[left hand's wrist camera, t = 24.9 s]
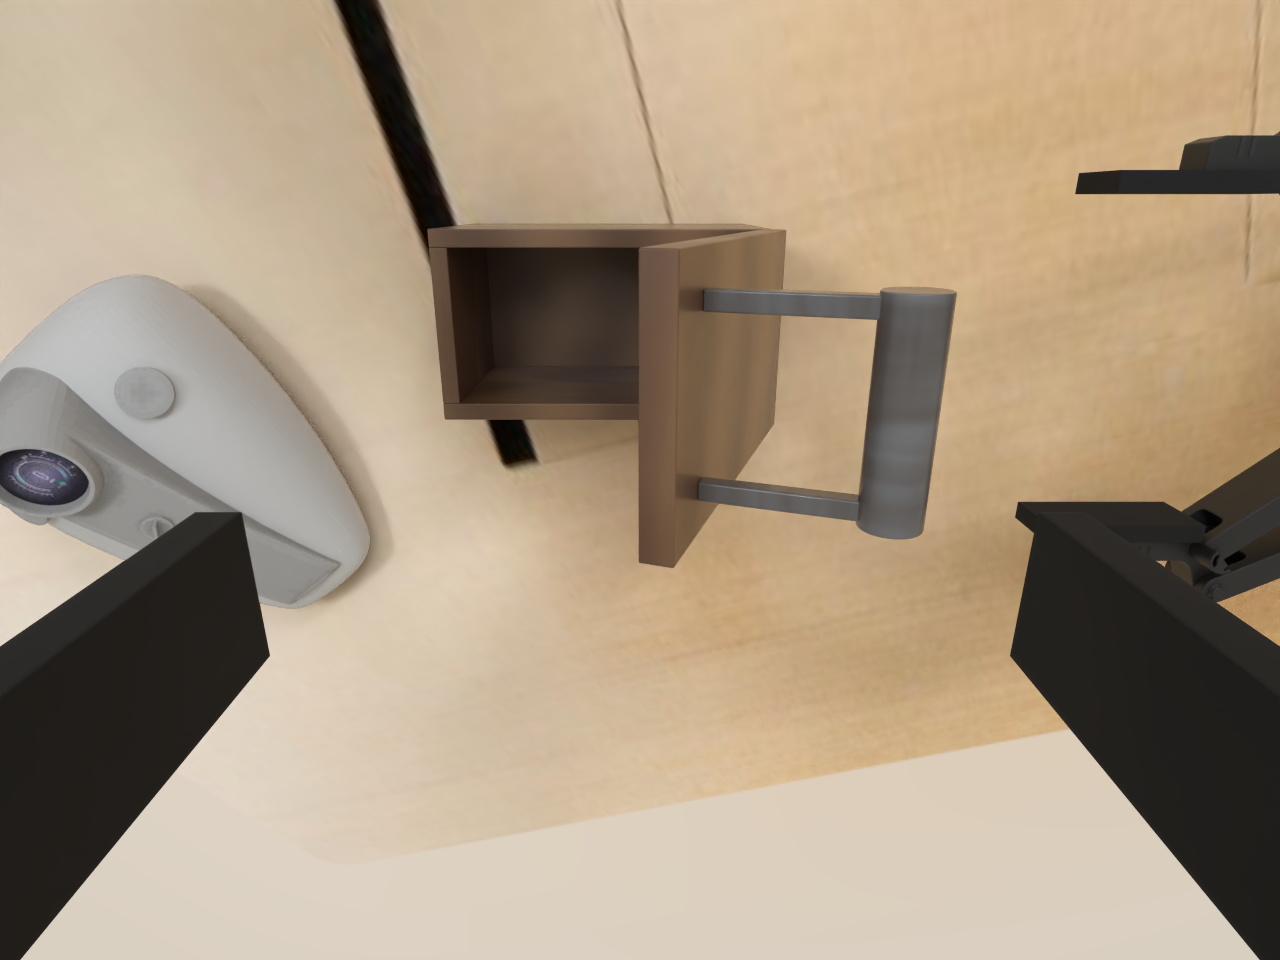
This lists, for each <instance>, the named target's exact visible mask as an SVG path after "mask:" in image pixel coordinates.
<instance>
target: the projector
mask: <svg viewBox="0 0 1280 960" xmlns="http://www.w3.org/2000/svg"><path fill="white" fill-rule="evenodd" d="M0 504H2V505H3V506H5V507H7V508H9V509H10V510H11V511H12V512H14V513H15V514H16V515H17V516H19V517H20V518H22V519H24V520H26V521H28V522H30V523H32V524H36V525H44V524H46V523H48V524H50V525H51V526H53V527H55V528H57V529H58V530H60V531H62V532H64V533H66V534H68V535H70V536H72V537H74V538H76V539H78V540H80V541H82V542H84V543H87V544H89V545H91V546H93V547H95V548H97V549H100V550H102V551H104V552H107V553H109V554H111V555H114V556H116V557H119V558H121V559H124V560H126V559H128V558H129V557H131V556H132V555H134V554H135V553H137V552H138V551H139V550H141V549H142V548H144V547H145V546H147V545H148V544H150V543H151V542H153V541H154V540H155V539H157V538H158V537H160V536H161V535H163V534H164V533H166V532H167V531H168V530H170V529H171V528H173V527H174V526H176V525H177V524H179V523H180V522H181V521H183V520H184V519H186V518H187V517H189V516H190V515H192V514H193V513H195V512H242V516H243V521H244V526H245V531H246V536H247V542H248V547H249V552H250V557H251V562H252V567H253V572H254V577H255V582H256V587H257V592H258V598H259V603H261V604H266V605H270V606H275V607H280V608H288V609H296V608H301V607H304V606H307V605H310V604H312V603H314V602H316V601H317V600H319V599H321V598H322V597H324V596H325V595H327V594H328V593H330V592H331V591H332V590H334V589H335V588H336V587H338V586H339V585H340V584H341V583H343V582H344V581H345V580H346V579H347V578H349V577H350V576H351V575H352V574H353V573H354V572H355V571H356V570H357V569H358V568H359V567H360V565H361V564H362V563H363V561H364V560H365V558H366V556H367V553H368V550H369V546H370V534H369V530H368V527H367V524H366V522H365V519H364V517H363V514H362V512H361V510H360V508H359V506H358V504H357V502H356V500H355V498H354V495H353V494H352V492H351V490H350V488H349V486H348V484H347V483H346V481H345V479H344V477H343V475H342V474H341V472H340V470H339V469H338V467H337V465H336V464H335V462H334V460H333V459H332V457H331V455H330V454H329V452H328V450H327V449H326V447H325V446H324V444H323V443H322V441H321V440H320V438H319V437H318V435H317V434H316V432H315V431H314V430H313V428H312V427H311V425H310V424H309V422H308V421H307V420H306V418H305V417H304V416H303V414H302V413H301V412H300V410H299V409H298V408H297V406H296V405H295V404H294V402H293V401H292V400H291V399H290V397H289V396H288V395H287V393H286V392H285V391H284V390H283V389H282V387H281V386H280V385H279V384H278V383H277V381H276V380H275V379H274V378H273V377H272V375H271V374H270V373H269V372H268V371H267V370H266V368H265V367H264V366H263V365H262V364H261V363H260V362H259V361H258V359H257V358H256V357H255V356H254V355H253V354H252V353H251V352H250V351H249V349H248V348H247V347H246V346H245V345H244V344H243V343H242V342H241V341H240V340H239V339H238V338H237V337H236V336H235V335H234V334H233V333H232V332H231V331H230V330H229V329H228V328H227V327H226V326H225V325H224V324H223V323H222V322H221V321H220V320H219V319H218V318H217V317H216V316H215V315H214V314H213V313H211V312H210V311H209V310H208V309H207V308H206V307H205V306H203V305H202V304H201V303H200V302H198V301H197V300H196V299H195V298H193V297H192V296H191V295H189V294H188V293H187V292H185V291H183V290H182V289H180V288H179V287H177V286H175V285H173V284H171V283H169V282H167V281H165V280H162V279H159V278H156V277H152V276H147V275H128V276H121V277H117V278H113V279H109V280H106V281H103V282H100V283H98V284H95V285H93V286H91V287H89V288H87V289H85V290H83V291H82V292H80V293H78V294H77V295H75V296H74V297H72V298H71V299H69V300H68V301H67V302H65V303H64V304H63V305H61V306H60V307H59V308H57V309H56V310H55V311H54V312H53V313H51V314H50V315H49V316H48V317H47V318H45V319H44V320H43V321H42V322H41V323H40V324H39V325H38V326H36V327H35V328H34V329H33V330H32V331H31V332H30V333H29V334H28V335H27V336H26V337H25V339H24V340H23V341H22V342H20V343H19V344H18V345H17V346H16V347H15V348H14V349H13V350H12V352H11V353H9V354H8V355H7V357H6V358H5V359H4V360H3V361H2V362H1V364H0Z"/></svg>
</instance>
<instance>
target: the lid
mask: <svg viewBox="0 0 1280 960" xmlns="http://www.w3.org/2000/svg"><path fill="white" fill-rule="evenodd" d="M785 242H786V230H771V229H762V230H755V231H749V232H742V233H735V234H728V235H722V236H715V237H708V238H701V239H695V240H688V241H681V242H674V243H668V244H661V245H654V246H647V247H641V248H639V562H640V563H644V564H650V565H657V566H663V567H669V568H674V567H675V565H676V564H677V562H678V561H679V560H680V558H681V557H682V555H683V554H684V552H685V551H686V549H687V548H688V547H689V545H690V544H691V542H692V541H693V539H694V538H695V537H696V535H697V534H698V532H699V531H700V529H701V528H702V526H703V525H704V524H705V522H706V521H707V519H708V518H709V516H710V515H711V514H712V512H713V511H714V509H715V508H716V506H717V505H718V503H719V504H727V505H734V506H742V507H750V508H758V509H766V510H773V511H781V512H789V513H797V514H804V515H812V516H820V517H828V518H835V519H843V520H851V521H856V525H857V526H858V528H859V529H861V530H862V531H864V532H866V533H868V534H871V535H874V536H877V537H882V538H887V539H910V538H914V537H917V536H919V535H921V534H922V532H923V530H924V523H925V516H926V509H927V502H928V494H929V487H930V480H931V473H932V466H933V459H934V452H935V445H936V438H937V431H938V424H939V417H940V410H941V403H942V395H943V388H944V381H945V374H946V367H947V360H948V353H949V346H950V339H951V332H952V325H953V318H954V311H955V303H956V296H957V292H955V291H953V290H948V289H941V288H928V287H890V288H884V289H881V291H880V293H857V292H829V291H801V290H783V274H784V258H785ZM781 315H784V316H805V317H827V318H848V319H870V320H877V328H876V337H875V346H874V355H873V365H872V374H871V383H870V393H869V402H868V411H867V421H866V430H865V439H864V449H863V458H862V467H861V477H860V486H859V495H854V494H846V493H837V492H829V491H820V490H812V489H803V488H795V487H786V486H778V485H770V484H761V483H753V482H744V481H736V480H735V479H736V478H737V476H738V475H739V473H740V472H741V470H742V469H743V467H744V466H745V465H746V463H747V462H748V460H749V459H750V457H751V456H752V455H753V453H754V452H755V450H756V449H757V447H758V446H759V444H760V443H761V442H762V440H763V439H764V437H765V436H766V434H767V433H768V432H769V430H770V429H771V427H772V426H773V424H774V415H775V400H776V384H777V368H778V352H779V337H780V321H781Z"/></svg>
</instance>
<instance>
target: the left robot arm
mask: <svg viewBox="0 0 1280 960" xmlns="http://www.w3.org/2000/svg"><path fill="white" fill-rule="evenodd" d="M269 656H270V654H269V649H268V643H267V638H266V633H265V628H264V623H263V618H262V613H261V608H260V603H259V598H258V592H257V587H256V582H255V577H254V572H253V567H252V562H251V557H250V552H249V547H248V542H247V536H246V531H245V526H244V521H243V516H242V512H195V513H193V514H192V515H190V516H189V517H187V518H186V519H184V520H183V521H181V522H180V523H179V524H177V525H176V526H174V527H173V528H171V529H170V530H168V531H167V532H166V533H164V534H163V535H161V536H160V537H158V538H157V539H155V540H154V541H153V542H151V543H150V544H148V545H147V546H145V547H144V548H142V549H141V550H139V551H138V552H137V553H135V554H134V555H132V556H131V557H129V558H128V559H126V560H125V561H124V562H122V563H121V564H119V565H118V566H116V567H115V568H113V569H112V570H110V571H109V572H108V573H106V574H105V575H103V576H102V577H100V578H99V579H97V580H96V581H95V582H93V583H92V584H90V585H89V586H87V587H86V588H84V589H83V590H81V591H80V592H79V593H77V594H76V595H74V596H73V597H71V598H70V599H68V600H67V601H66V602H64V603H63V604H61V605H60V606H58V607H57V608H55V609H54V610H52V611H51V612H50V613H48V614H47V615H45V616H44V617H42V618H41V619H39V620H38V621H37V622H35V623H34V624H32V625H31V626H29V627H28V628H26V629H25V630H23V631H22V632H21V633H19V634H18V635H16V636H15V637H13V638H12V639H10V640H9V641H8V642H6V643H5V644H3V645H2V646H0V960H20V959H21V958H22V957H23V956H24V955H25V953H26V952H27V951H28V950H29V948H30V947H31V946H32V945H33V944H34V942H35V941H36V940H37V939H38V938H39V936H40V935H41V934H42V933H43V931H44V930H45V929H46V928H47V927H48V925H49V924H50V923H51V922H52V921H53V919H54V918H55V917H56V916H57V914H58V913H59V912H60V911H61V910H62V908H63V907H64V906H65V905H66V903H67V902H68V901H69V900H70V899H71V897H72V896H73V895H74V894H75V893H76V891H77V890H78V889H79V888H80V886H81V885H82V884H83V883H84V882H85V880H86V879H87V878H88V877H89V875H90V874H91V873H92V872H93V871H94V869H95V868H96V867H97V866H98V865H99V863H100V862H101V861H102V860H103V858H104V857H105V856H106V855H107V854H108V852H109V851H110V850H111V849H112V847H113V846H114V845H115V844H116V843H117V841H118V840H119V839H120V838H121V836H122V835H123V834H124V833H125V832H126V830H127V829H128V828H129V827H130V826H131V824H132V823H133V822H134V821H135V819H136V818H137V817H138V816H139V815H140V813H141V812H142V811H143V810H144V808H145V807H146V806H147V805H148V804H149V802H150V801H151V800H152V799H153V797H154V796H155V795H156V794H157V793H158V791H159V790H160V789H161V788H162V787H163V785H164V784H165V783H166V782H167V781H168V779H169V778H170V777H171V776H172V774H173V773H174V772H175V771H176V770H177V768H178V767H179V766H180V765H181V763H182V762H183V761H184V760H185V759H186V757H187V756H188V755H189V754H190V753H191V751H192V750H193V749H194V748H195V746H196V745H197V744H198V743H199V742H200V740H201V739H202V738H203V737H204V735H205V734H206V733H207V732H208V731H209V729H210V728H211V727H212V726H213V725H214V723H215V722H216V721H217V720H218V718H219V717H220V716H221V715H222V714H223V712H224V711H225V710H226V709H227V707H228V706H229V705H230V704H231V703H232V701H233V700H234V699H235V698H236V697H237V695H238V694H239V693H240V692H241V690H242V689H243V688H244V687H245V686H246V684H247V683H248V682H249V681H250V679H251V678H252V677H253V676H254V675H255V673H256V672H257V671H258V670H259V669H260V667H261V666H262V665H263V664H264V662H265V661H266V660H267V659H268V658H269ZM1010 656H1011V658H1012V659H1013V660H1014V661H1015V662H1016V664H1017V665H1018V666H1019V667H1020V669H1021V670H1022V671H1023V672H1024V673H1025V675H1026V676H1027V677H1028V678H1029V679H1030V681H1031V682H1032V683H1033V684H1034V686H1035V687H1036V688H1037V689H1038V690H1039V692H1040V693H1041V694H1042V695H1043V697H1044V698H1045V699H1046V700H1047V701H1048V703H1049V704H1050V705H1051V706H1052V707H1053V709H1054V710H1055V711H1056V712H1057V714H1058V715H1059V716H1060V717H1061V718H1062V720H1063V721H1064V722H1065V723H1066V725H1067V726H1068V727H1069V728H1070V729H1071V731H1072V732H1073V733H1074V734H1075V735H1076V737H1077V738H1078V739H1079V740H1080V742H1081V743H1082V744H1083V745H1084V746H1085V748H1086V749H1087V750H1088V751H1089V753H1090V754H1091V755H1092V756H1093V757H1094V759H1095V760H1096V761H1097V762H1098V763H1099V765H1100V766H1101V767H1102V768H1103V770H1104V771H1105V772H1106V773H1107V774H1108V776H1109V777H1110V778H1111V779H1112V781H1113V782H1114V783H1115V784H1116V785H1117V787H1118V788H1119V789H1120V790H1121V791H1122V793H1123V794H1124V795H1125V796H1126V798H1127V799H1128V800H1129V801H1130V802H1131V804H1132V805H1133V806H1134V807H1135V809H1136V810H1137V811H1138V812H1139V813H1140V815H1141V816H1142V817H1143V818H1144V819H1145V821H1146V822H1147V823H1148V824H1149V825H1150V827H1151V828H1152V829H1153V830H1154V832H1155V833H1156V834H1157V835H1158V837H1159V838H1160V839H1161V840H1162V841H1163V843H1164V844H1165V845H1166V846H1167V847H1168V849H1169V850H1170V851H1171V852H1172V854H1173V855H1174V856H1175V857H1176V858H1177V860H1178V861H1179V862H1180V863H1181V864H1182V866H1183V867H1184V868H1185V869H1186V871H1187V872H1188V873H1189V874H1190V875H1191V877H1192V878H1193V879H1194V880H1195V882H1196V883H1197V884H1198V885H1199V886H1200V888H1201V889H1202V890H1203V891H1204V893H1205V894H1206V895H1207V896H1208V897H1209V899H1210V900H1211V901H1212V902H1213V903H1214V905H1215V906H1216V907H1217V908H1218V910H1219V911H1220V912H1221V913H1222V914H1223V916H1224V917H1225V918H1226V919H1227V920H1228V922H1229V923H1230V924H1231V925H1232V927H1233V928H1234V929H1235V930H1236V931H1237V933H1238V934H1239V935H1240V936H1241V938H1242V939H1243V940H1244V941H1245V942H1246V944H1247V945H1248V946H1249V947H1250V949H1251V950H1252V951H1253V952H1254V953H1255V955H1256V956H1257V957H1258V958H1259V959H1260V960H1280V646H1278V645H1277V644H1275V643H1274V642H1272V641H1271V640H1270V639H1268V638H1267V637H1265V636H1264V635H1262V634H1261V633H1259V632H1258V631H1257V630H1255V629H1254V628H1252V627H1251V626H1249V625H1248V624H1246V623H1245V622H1243V621H1242V620H1241V619H1239V618H1238V617H1236V616H1235V615H1233V614H1232V613H1230V612H1229V611H1228V610H1226V609H1225V608H1223V607H1222V606H1220V605H1219V604H1217V603H1216V602H1214V601H1213V600H1212V599H1210V598H1209V597H1207V596H1206V595H1204V594H1203V593H1201V592H1200V591H1199V590H1197V589H1196V588H1194V587H1193V586H1191V585H1190V584H1188V583H1187V582H1185V581H1184V580H1183V579H1181V578H1180V577H1178V576H1177V575H1175V574H1174V573H1172V572H1171V571H1170V570H1168V569H1167V568H1165V567H1164V566H1162V565H1161V564H1159V563H1158V562H1156V561H1155V560H1154V559H1152V558H1151V557H1149V556H1148V555H1146V554H1145V553H1143V552H1142V551H1141V550H1139V549H1138V548H1136V547H1135V546H1133V545H1132V544H1130V543H1129V542H1127V541H1126V540H1125V539H1123V538H1122V537H1120V536H1119V535H1117V534H1116V533H1114V532H1113V531H1112V530H1110V529H1109V528H1107V527H1106V526H1104V525H1103V524H1101V523H1100V522H1099V521H1097V520H1096V519H1094V518H1093V517H1091V516H1090V515H1088V514H1087V513H1085V512H1038V516H1037V521H1036V526H1035V531H1034V536H1033V542H1032V547H1031V552H1030V557H1029V562H1028V567H1027V572H1026V577H1025V582H1024V587H1023V592H1022V598H1021V603H1020V608H1019V613H1018V618H1017V623H1016V628H1015V633H1014V638H1013V643H1012V649H1011V654H1010Z"/></svg>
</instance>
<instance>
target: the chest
mask: <svg viewBox="0 0 1280 960" xmlns="http://www.w3.org/2000/svg"><path fill="white" fill-rule="evenodd" d="M762 229H767V228H762V227H757V226H751V225H746V224H468V225H459V226H451V227H442V228H433V229H428V240H429V247H430V248H429V251H430V262H431V273H432V284H433V295H434V305H435V316H436V327H437V338H438V349H439V360H440V371H441V382H442V393H443V403H444V415H445V419H474V420H639V248H641V247H647V246H654V245H661V244H668V243H674V242H681V241H688V240H695V239H701V238H708V237H715V236H722V235H728V234H735V233H742V232H749V231H755V230H762Z"/></svg>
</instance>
